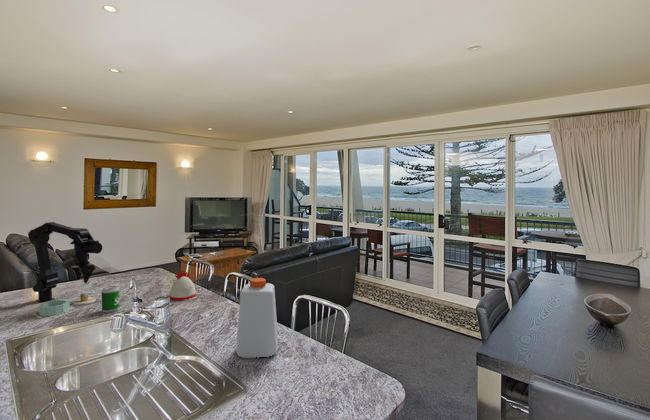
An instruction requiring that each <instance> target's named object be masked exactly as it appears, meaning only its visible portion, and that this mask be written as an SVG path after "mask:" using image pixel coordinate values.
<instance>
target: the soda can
mask: <svg viewBox="0 0 650 420" xmlns="http://www.w3.org/2000/svg"><path fill="white" fill-rule="evenodd" d="M101 301H102V302H101V310H102V312H103V313H105V314H112V313H115V312H117V311H119V309H120V306H121V304H120V288H119V287H118V286H116V285H109V286H105V287H103V289H101Z"/></svg>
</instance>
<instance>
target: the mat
mask: <svg viewBox="0 0 650 420" xmlns="http://www.w3.org/2000/svg"><path fill="white" fill-rule="evenodd" d="M90 297H93V296H90ZM73 301H74V300H69V302H70V306H72V307H73V308H76V309H79V308H82V307H86V306H87V307H88V306H90V305H93V304H98V303H102V299H98V298H96V301H95V302H93V303H90V304H86V305H73V304H72V302H73Z"/></svg>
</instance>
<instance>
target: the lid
mask: <svg viewBox="0 0 650 420" xmlns="http://www.w3.org/2000/svg"><path fill="white" fill-rule="evenodd" d="M88 294H89V293H86V292H84V293H80V296H79V297H80V298H77V299H75V300H72V301H73V302H72V304H73V305H86V304H90V303H93V302H95V301H96V299H97V298H96V297H94V296H92V297H91V296H89V295H88Z"/></svg>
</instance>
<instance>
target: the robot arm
mask: <svg viewBox="0 0 650 420" xmlns="http://www.w3.org/2000/svg"><path fill="white" fill-rule="evenodd" d="M53 233H58V234H61V235H65V236H67V237H68V238H69V239H71V240H72V241H71V242H70V243H69V244H70V245H73V252H74V254H72V256H71V258H68V259H66V260H63V261H62V262H60V265H61V267H62V269H63V270H68V269H71V270H72V271H73V272H74V275H75V278H76V281H80V280H81V277H82V279H83V283H84V284H87V283H88V282H89V279H90V277H91V275H92V274H93V272H94V271H95V270H96V265H95V264H92V263H91V262H90V261H89V257H90V254H100V253H101V252H102V250H103V245H102V243H100V240H98V239H97V240H95V239H94V237H93V236H92V234H91V232H90V231H89V229H87V228H84V227H83V228H79V227H72V226H67V225H65V224H64V225H63V224H60V223H57V222H54V221H51V222H45V223H43V224H42V225H40V226H38V227H35V228H33V229H31V230H30V231H29V232H28V233H27V236H28V238H29V242H30V243H31V244H32V245H33V246H34V249H35V253H36V259H37V264H38V268H39V269H38V271H39V273H38V275H37V278H36V284H35V285H34V286H33V287H32V290H33V293H38V294H37V296H38V297H37V298H38V299H36V300H35V301H36V302H37V303H38V304H42V303H45V302H49V301H53V300H56V299H55V298H53V289H55V288H56V287H57V284H58V282H59V280H60V279H59V276H58V272H57V271H56V272H55V271H54V270H53V269H52V263H51V259H50V254H49V249H48V248H49V247H48V243H49V241H50V239H51V238H50V237H51V236H50V235H51V234H53Z"/></svg>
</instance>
